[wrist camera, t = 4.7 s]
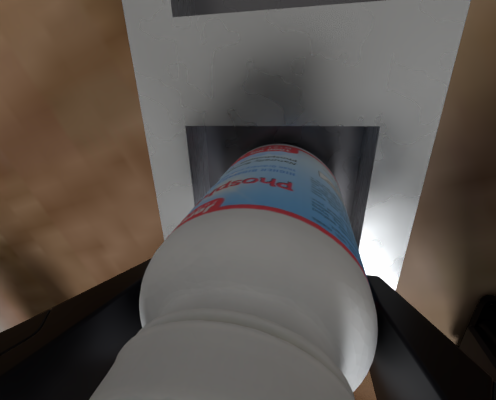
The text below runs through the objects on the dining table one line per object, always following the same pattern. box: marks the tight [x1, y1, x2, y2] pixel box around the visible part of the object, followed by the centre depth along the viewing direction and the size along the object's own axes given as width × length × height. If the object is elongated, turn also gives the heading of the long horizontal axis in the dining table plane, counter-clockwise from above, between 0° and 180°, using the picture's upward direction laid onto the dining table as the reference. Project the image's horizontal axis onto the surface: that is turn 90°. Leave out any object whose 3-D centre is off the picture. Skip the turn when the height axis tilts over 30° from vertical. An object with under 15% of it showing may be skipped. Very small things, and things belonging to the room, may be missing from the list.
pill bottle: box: [89, 144, 378, 400], centre depth 9 cm, size 6×6×11 cm
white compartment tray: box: [122, 0, 471, 291], centre depth 11 cm, size 12×24×3 cm, turn 2°
